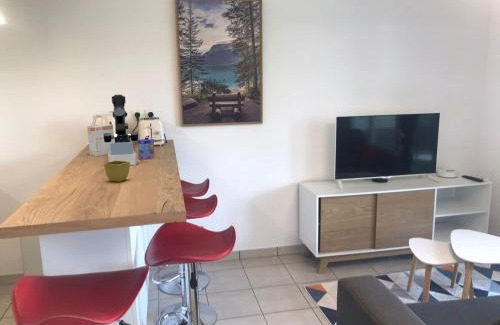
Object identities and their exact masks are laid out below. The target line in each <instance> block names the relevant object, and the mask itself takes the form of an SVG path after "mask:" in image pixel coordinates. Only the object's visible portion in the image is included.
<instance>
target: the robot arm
mask: <svg viewBox="0 0 500 325" xmlns="http://www.w3.org/2000/svg"><path fill="white" fill-rule="evenodd" d="M111 103H112V104H113V111H112V118H113V119H114V129H115V130H114V132H115V134H114V135H111V133H104V134H103V135H104V142H111V139H114V143H126V142H130V141H131V142H138V140H139V133H138V131H130V133H129V134H127V130H129V123H128V122H126V118H127V117H128V112H127V111H126V110H125V104H126V103H127V102H126V96H124V95H123V94H114V95H113V96H111Z"/></svg>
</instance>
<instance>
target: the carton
mask: <svg viewBox="0 0 500 325" xmlns="http://www.w3.org/2000/svg"><path fill="white" fill-rule="evenodd" d="M107 157H108V158H107V159H108V162H112V161H128V162H130V166H136V165H137V163H138V160H137V152H136V151H134V150H133V154H121V155H111V152H110V154H109V153H108V155H107Z"/></svg>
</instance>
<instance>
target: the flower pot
mask: <svg viewBox="0 0 500 325" xmlns="http://www.w3.org/2000/svg"><path fill="white" fill-rule="evenodd" d="M103 165H104V169H105V170H104V171H105V173H106V174H105V175H106V177H107V179H108V180H109V181H110V182H118V183H120V182H123V181H126V179H127V178H128V176H129V173H130V166H131V165H130V162H128V161H112V162H109V161H108V162H105V163H103Z"/></svg>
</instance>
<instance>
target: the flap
mask: <svg viewBox="0 0 500 325" xmlns="http://www.w3.org/2000/svg"><path fill="white" fill-rule="evenodd" d="M133 143H134V141H131V142H130V141H129V142H126V143H115V142H114V143H110V148H111V155H121V154H133V151H134V144H133Z"/></svg>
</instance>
